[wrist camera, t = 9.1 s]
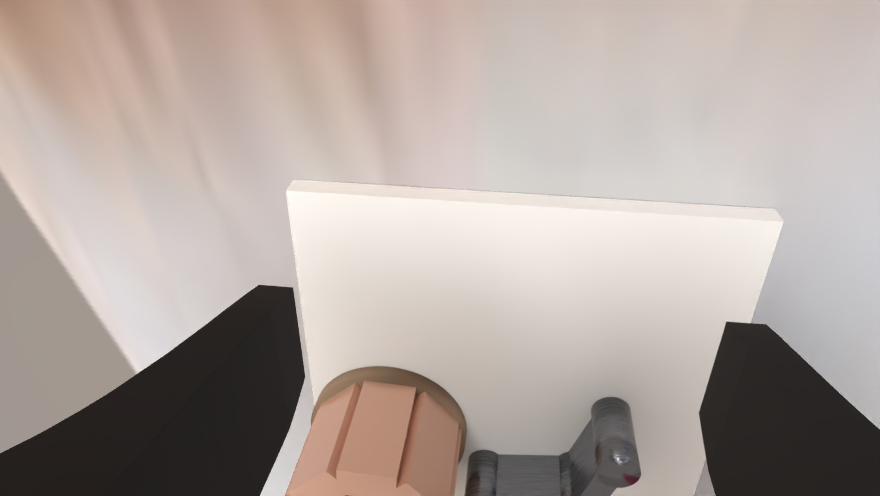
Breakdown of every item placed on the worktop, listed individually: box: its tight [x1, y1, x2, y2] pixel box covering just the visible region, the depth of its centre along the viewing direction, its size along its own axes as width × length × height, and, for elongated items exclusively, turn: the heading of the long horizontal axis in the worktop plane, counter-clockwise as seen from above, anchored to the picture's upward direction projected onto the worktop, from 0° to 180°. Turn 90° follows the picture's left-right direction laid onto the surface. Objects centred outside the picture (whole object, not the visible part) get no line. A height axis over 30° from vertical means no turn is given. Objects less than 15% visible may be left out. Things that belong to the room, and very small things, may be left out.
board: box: [286, 180, 784, 496], centre depth 24 cm, size 15×16×1 cm
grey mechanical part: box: [464, 397, 641, 496], centre depth 24 cm, size 6×5×3 cm
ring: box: [285, 381, 462, 496], centre depth 23 cm, size 6×6×4 cm
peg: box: [311, 366, 467, 496], centre depth 23 cm, size 6×6×5 cm
